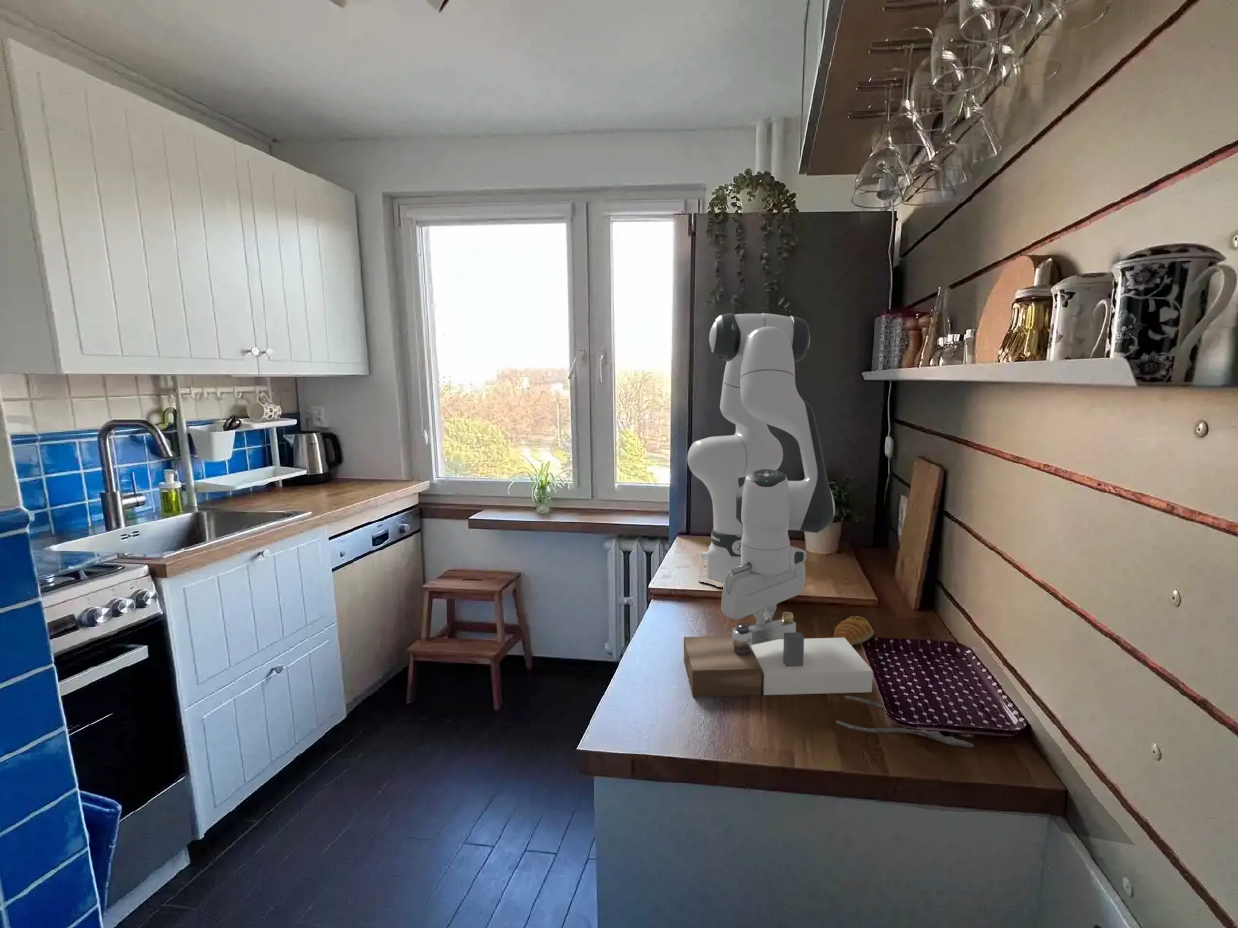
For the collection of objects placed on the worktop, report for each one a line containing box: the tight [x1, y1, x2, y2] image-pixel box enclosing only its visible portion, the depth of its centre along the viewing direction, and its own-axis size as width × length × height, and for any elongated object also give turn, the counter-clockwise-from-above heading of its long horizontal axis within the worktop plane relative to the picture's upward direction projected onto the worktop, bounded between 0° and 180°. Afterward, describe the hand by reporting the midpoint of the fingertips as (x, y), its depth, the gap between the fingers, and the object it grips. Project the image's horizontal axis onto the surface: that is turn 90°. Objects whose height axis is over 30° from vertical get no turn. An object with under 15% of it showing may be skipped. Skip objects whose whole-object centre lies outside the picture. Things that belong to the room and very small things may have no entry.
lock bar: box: [731, 611, 797, 648], centre depth 113 cm, size 13×4×4 cm, turn 112°
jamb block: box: [683, 635, 762, 698], centre depth 112 cm, size 13×12×6 cm
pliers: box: [835, 695, 975, 749], centre depth 98 cm, size 10×1×20 cm
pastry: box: [832, 615, 875, 647], centre depth 127 cm, size 9×7×4 cm
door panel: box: [751, 631, 874, 696], centre depth 112 cm, size 13×19×10 cm
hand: (763, 626), depth 116 cm, fingers closed
